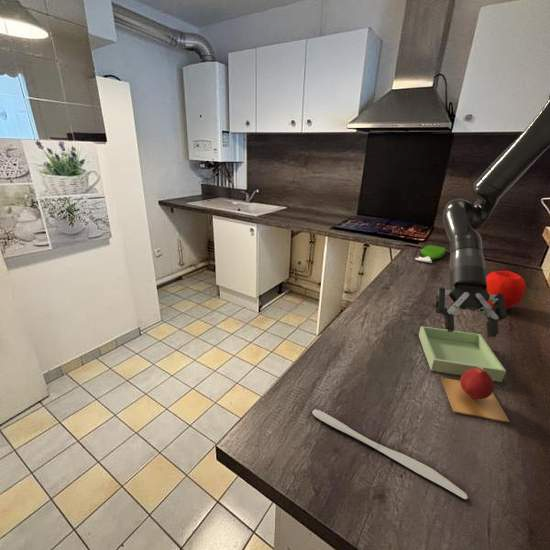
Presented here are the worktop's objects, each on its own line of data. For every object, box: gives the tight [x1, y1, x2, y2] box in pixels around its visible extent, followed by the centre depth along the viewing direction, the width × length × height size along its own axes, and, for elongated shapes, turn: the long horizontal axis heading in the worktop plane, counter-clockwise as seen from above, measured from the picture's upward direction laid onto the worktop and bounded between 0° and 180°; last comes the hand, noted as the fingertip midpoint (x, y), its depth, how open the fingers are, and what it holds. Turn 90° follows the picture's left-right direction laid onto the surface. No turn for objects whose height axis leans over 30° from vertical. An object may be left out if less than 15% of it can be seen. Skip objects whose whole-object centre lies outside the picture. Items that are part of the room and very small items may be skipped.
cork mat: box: [440, 377, 510, 424], centre depth 63 cm, size 10×10×1 cm
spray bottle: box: [414, 244, 447, 264], centre depth 149 cm, size 3×11×24 cm
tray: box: [418, 325, 507, 383], centre depth 76 cm, size 15×15×3 cm
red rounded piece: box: [459, 367, 495, 399], centre depth 62 cm, size 6×6×8 cm
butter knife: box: [312, 408, 468, 500], centre depth 52 cm, size 1×27×3 cm
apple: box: [486, 270, 527, 310], centre depth 98 cm, size 12×12×13 cm
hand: (471, 334), depth 67 cm, fingers open, 8 cm apart
